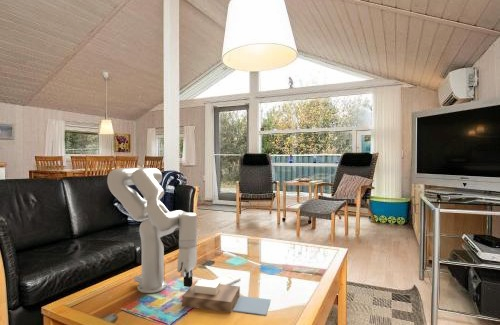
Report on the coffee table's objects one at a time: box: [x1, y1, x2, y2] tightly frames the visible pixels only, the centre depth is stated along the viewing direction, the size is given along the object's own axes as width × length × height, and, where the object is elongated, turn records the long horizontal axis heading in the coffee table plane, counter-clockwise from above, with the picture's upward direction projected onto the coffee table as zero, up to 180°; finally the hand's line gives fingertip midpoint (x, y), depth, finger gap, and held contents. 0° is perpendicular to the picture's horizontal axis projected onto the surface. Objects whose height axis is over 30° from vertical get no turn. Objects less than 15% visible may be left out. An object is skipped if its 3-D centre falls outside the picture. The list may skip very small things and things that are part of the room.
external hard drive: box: [211, 273, 241, 285], centre depth 141 cm, size 2×8×12 cm
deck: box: [181, 281, 241, 313], centre depth 123 cm, size 20×14×4 cm
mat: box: [232, 295, 271, 317], centre depth 119 cm, size 13×12×1 cm
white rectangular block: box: [195, 278, 220, 295], centre depth 123 cm, size 9×6×3 cm, turn 78°
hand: (188, 285), depth 125 cm, fingers closed
